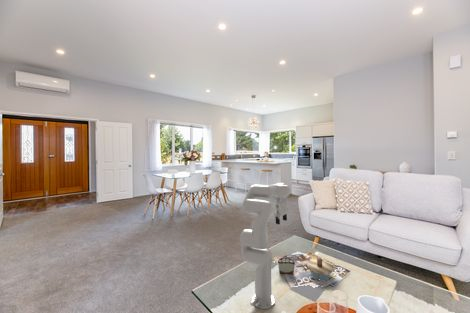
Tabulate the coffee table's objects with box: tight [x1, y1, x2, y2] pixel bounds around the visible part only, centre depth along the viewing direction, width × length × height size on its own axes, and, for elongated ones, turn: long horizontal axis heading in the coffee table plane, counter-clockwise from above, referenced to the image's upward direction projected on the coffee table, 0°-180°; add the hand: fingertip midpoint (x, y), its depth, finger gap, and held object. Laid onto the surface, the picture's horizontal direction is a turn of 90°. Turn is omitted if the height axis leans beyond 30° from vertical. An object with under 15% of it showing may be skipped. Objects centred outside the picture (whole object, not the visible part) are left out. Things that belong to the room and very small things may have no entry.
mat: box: [289, 285, 327, 303], centre depth 131 cm, size 16×16×1 cm
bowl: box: [309, 270, 331, 281], centre depth 144 cm, size 12×12×6 cm
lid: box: [306, 257, 334, 275], centre depth 144 cm, size 16×16×6 cm
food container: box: [277, 256, 296, 275], centre depth 149 cm, size 12×6×10 cm, turn 84°
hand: (281, 222), depth 158 cm, fingers open, 9 cm apart
